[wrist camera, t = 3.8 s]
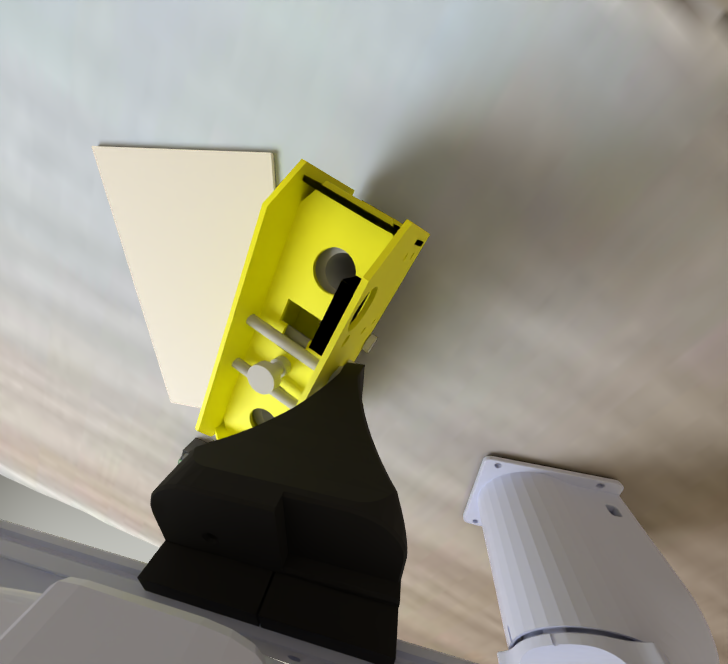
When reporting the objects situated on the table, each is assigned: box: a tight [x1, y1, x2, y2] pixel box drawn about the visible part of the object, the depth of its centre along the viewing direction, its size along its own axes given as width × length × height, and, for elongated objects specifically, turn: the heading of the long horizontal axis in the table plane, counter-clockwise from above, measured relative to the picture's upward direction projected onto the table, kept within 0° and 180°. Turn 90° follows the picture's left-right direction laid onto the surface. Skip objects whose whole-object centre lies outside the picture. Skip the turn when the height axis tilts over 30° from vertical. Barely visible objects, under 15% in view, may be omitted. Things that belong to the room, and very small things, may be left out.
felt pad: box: [92, 146, 276, 408], centre depth 19 cm, size 12×20×1 cm, turn 176°
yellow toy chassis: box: [195, 159, 430, 440], centre depth 14 cm, size 16×6×8 cm, turn 153°
